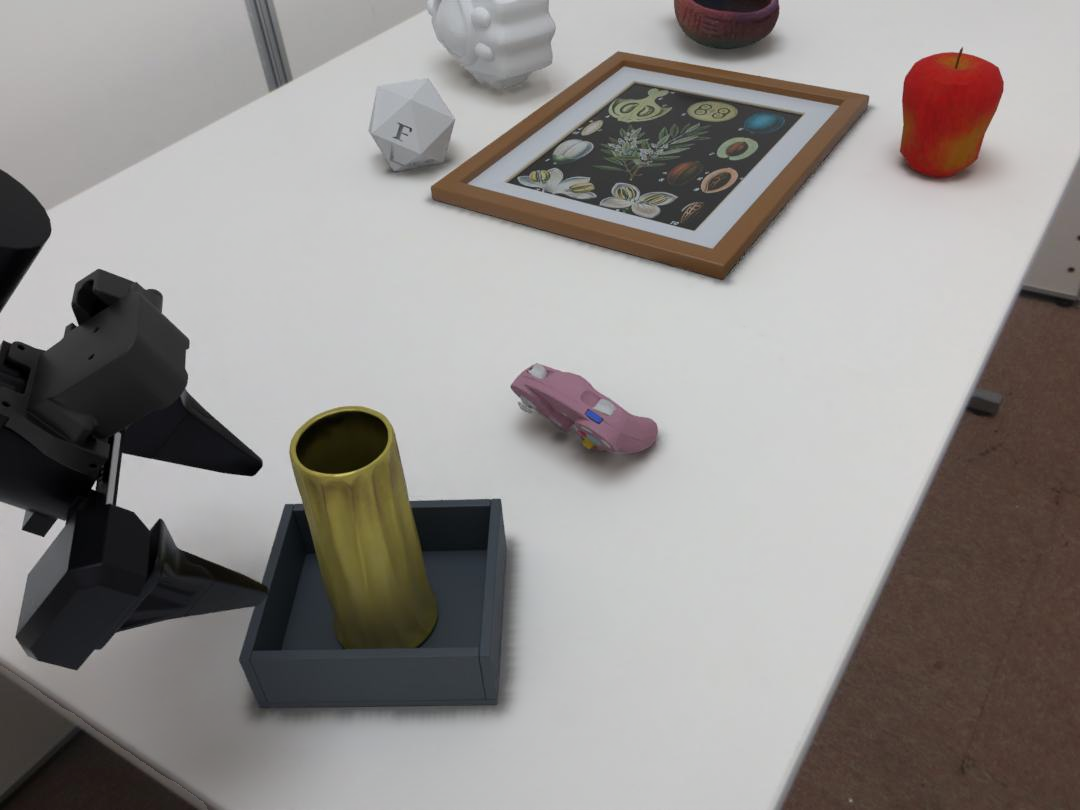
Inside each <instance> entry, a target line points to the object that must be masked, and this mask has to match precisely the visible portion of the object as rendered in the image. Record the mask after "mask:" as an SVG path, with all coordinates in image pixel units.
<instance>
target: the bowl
mask: <svg viewBox="0 0 1080 810" xmlns="http://www.w3.org/2000/svg"><path fill="white" fill-rule="evenodd" d="M673 9H674V15H675V18H676V21H677V23H678V26H679V27H680V29H681V31H682V32H683V33H684V34H685V36H686V37H688V38H689V39H690V40H691V41H693V42H694V43H696V44H698V45H701V46H703V47H707V48H712V49H716V50H717V49H718V50H727V51H728V50H729V51H730V50H735V49H740V48H741V49H742V48H746V47H749V46H751V45H755V44H756V43H758V42H761V40H764V39H765V38H766V37H767V36H769V35H770V34H771V33H772V31H773V30H774V28H775V27H776V24H777V22H778V19H779V16H780V9H781V8H780V0H673Z"/></svg>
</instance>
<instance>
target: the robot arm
mask: <svg viewBox="0 0 1080 810" xmlns="http://www.w3.org/2000/svg"><path fill="white" fill-rule="evenodd" d="M52 229H53V228H52V223H51V219H50V216H49V214H48V212H47V211H46V208H45V207H44V206H43V204H42V203H41V202H40V201H39V199H38V198H37V197H36V196H35V195H34V193H32V192H31V191H30V190H29V189H28V188H27V187H26V186H25V185H24V184H22V183H21V182H20V181H18V179H16V178H14V177H13V175H10V174H9V173H8V172H6V171H4V170H3V169H1V168H0V314H1V313H2V311H3V310H4V308H5V307H6V305H7V304H8V302H9V300H10V299H11V297H12V296H13V294H14V293H15V291H16V290H17V288H18V286H19V285H20V284H21V282H22V280H23V279H24V278H25V276H26V275H27V273H28V271H29V269H30V268H31V267H32V265H33V263H34V262H35V260H37V257H38V256H39V255H40V252H41V251H42V250H43V248H44V247H45V245H46V243H47V242H48V240H49V238H50V237H51V235H52V231H53V230H52ZM163 304H164V296H163V294H162V292H160V291H159V290H157V289H155V288H147V289H146V288H144V287H143V286H142V285H140V284H139V282H137V281H133V280H131V279H129V278H125V277H123V276H120V275H117V274H115V273H112V272H109V271H107V270H104V269H101V268H97V269H95V270H94V271H92V272H90V273H89V274H87V275H86V276H84V277H83V278H82V279H81V278H80V279H79V280H78V281H77V282H76V283H75V284H74V288H73V293H72V298H71V302H70V305H71V309H72V312H73V315H74V318H75V320H76V323H77V325H76V324H75V323H73V322H71V323H69V324H67V325H66V326H65V329H64V333H63V337H62V338H61V339H60V340H59V341H58V342H56V343H55V344H53V345H52V346H51V347H49V348H48V349H47V350H45V349H40V348H36V347H34V346H32V345H29V344H27V343H24V342H22V341H18V340H17V341H16V340H15V341H13V342H9V341H6V340H5V339H4V340H2V341H1V342H0V503H1V504H5V505H9V506H12V507H14V508H18V509H20V510H24V511H25V512H24V516H23V520H22V525H21V531H23V532H27V533H30V534H32V535H36V536H39V537H42V538H45V536H47V534H48V533H49V532H50V530H51V529H52V527H53V526H54V525H55V524H56V522H57V521H58V520H61V521H64V522H65V524H64V527H63V528H62V529H61V530H60V532H59V533H58V535H57V536H56V537H55V538H54V540H53V541H52V542H51V543H50V545H49V546H48V548H47V549H46V550H45V552H44V553H43V554H42V555H41V557H40V558H39V559H38V561H37V562H36V563H35V564H34V566H33V567H32V568H31V570H30V571H29V573H27V577H26V581H25V586H24V592H23V597H22V601H21V606H20V612H19V616H18V622H17V628H16V631H15V636H14V637H15V639H16V641H17V642H18V644H19V645H20V647H21V649H22V650H23V652H24V653H25V654H26V656H27V657H28V658H31V659H33V660H35V661H37V662H41V663H45V664H49V665H53V666H57V667H60V668H65V669H68V670H72V671H78V670H79V669H80V668H81V667H82V666H83V665H84V663H85V662H86V661H87V660H88V658H89V657H90V656H91V655H92V654H93V653H94V651H101V650H103V649H104V647H105V646H106V645H107V644H108V643H109V642H110V641H111V639H113V637H114V635H115V634H117V633H121V632H125V631H128V630H132V629H137V628H140V627H144V626H149V625H153V624H156V623H160V622H161V623H162V622H164V621H170V620H177V619H183V618H188V617H193V616H195V617H196V616H200V615H201V616H202V615H207V614H214V613H215V614H216V613H222V612H227V611H233V610H240V609H247V608H254V607H255V606H257V605H259V604H260V603H261V602H262V601H263V600H264V599H265V598H266V597H267V596H268V587H267V586H265V585H263V584H261V583H262V582H260V581H258V580H255V579H254V578H252V577H250V576H248V575H246V574H244V573H241V572H238V571H236V570H233V569H231V568H229V567H226V566H223V565H220V564H218V563H216V562H213V561H210V560H208V559H206V558H203V557H200V556H198V555H195V554H193V553H191V552H188V551H186V550H182V549H181V548H179V547H178V546H177V545H176V543H175V541H174V539H173V536H172V535H171V532H170V530H169V528H168V526H167V524H166V523H165V521H164V519H162V518H160V517H159V518H158V519H157V520H156V522H155V523H154V524H153V525H152V527H151V528H150V529H149V528H148V527H147V526H146V524H145V523H144V522H143V521H142V520H141V518H140V517H139V516H138V515H137V514H136V513H135V512H134V511H132V510H129V509H127V508H124V507H121V506H118V505H117V501H118V494H119V492H118V491H119V483H120V474H121V467H122V458H123V455H129V456H135V457H139V458H144V459H149V460H155V461H161V462H164V463H171V464H175V465H181V466H186V467H190V468H191V467H192V468H196V469H200V470H206V471H209V472H215V473H220V474H227V475H234V476H243V477H254V476H256V475H257V474H258V473H259V471H261V469H262V468H263V466H264V462H263V458H262V457H260V456H259V455H258V454H257V453H256V452H254V451H253V450H252V449H251V448H250V447H249V446H247V444H245V443H244V442H243V441H242V440H241V439H239V438H238V437H237V436H236V435H235V434H234V433H233V432H232V431H231V430H230V429H228V428H227V427H226V426H225V425H224V424H222V423H221V421H219V420H218V419H217V418H215V417H214V416H213V415H212V414H211V413H210V412H209V411H208V410H206V408H204V407H203V405H201V404H200V402H198V401H197V400H196V398H194V397H193V396H192V395H191V394H190V393H189V392H188V390H187V389H186V388H187V386H188V382H189V373H188V371H187V369H186V361H187V351H188V350H189V349H190V347H191V346H190V339H189V337H187V335H186V334H185V333H184V332H182V331H181V330H180V329H179V328H178V327H177V326H176V325H175V324H174V323H173V322H172V321H171V319H170V320H169V318H168V317H167V316H166V315H165V314H163ZM94 485H95V489H93V487H94Z"/></svg>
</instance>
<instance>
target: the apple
mask: <svg viewBox="0 0 1080 810" xmlns="http://www.w3.org/2000/svg"><path fill="white" fill-rule="evenodd" d="M963 51H964V46H962V47H961V48H960V49H959V52H955V51H949V52H940V53H935V54H931V55H929V56H925V57H922V58H920V59H919V60H917V61H916V62H915V63H913V65H912V66H911V68H910V69H909V70H908V72H907V74H906V75H905V77H904V80H903V86H902V97H901V104H902V122H903V124H902V125H903V127H902V131H901V137H900V138H901V140H900V146H899V152H900V154H901V155H902V157H903V158H904V160H905V161H906V163H907V164H908V166H909V167H910V169H911V170H913V171H915V172H916V173H918V174H921V175H924V176H927V177H932V178H936V179H939V178H949V177H952V176H954V175H956V174H958V173H959V172H961V171H963V170H965V169H967V168H968V167H969V166H971V165H972V164H973V163H975V162H976V161H977V160H978V158H979V155H980V152H981V148H982V145H983V142H984V138H985V135H986V132H987V130H988V129H989V127H990V124H991V122H992V121H993V118H994V116H995V115H996V112H997V110H998V108H999V104H1000V102H1001V99H1002V97H1003V93H1004V90H1005V89H1004V84H1005V81H1004V78H1003V76H1002V72H1001V69H1000V68H999V66H997V65H996V64H994V63H992V61H991V62H990V61H989V60H986V59H984V58H982V57H980V56H976V55H974V54H969V53H964V52H963Z"/></svg>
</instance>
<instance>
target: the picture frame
mask: <svg viewBox="0 0 1080 810" xmlns="http://www.w3.org/2000/svg"><path fill="white" fill-rule="evenodd" d="M869 102H870V95H868V94H863V93H859V92H853V91H847V90H842V89H835V88H829V87H824V86H818V85H812V84H808V83H807V84H806V83H802V82H794V81H789V80H784V79H778V78H774V77H773V78H772V77H767V76H761V75H755V74H750V73H745V72H739V71H733V70H727V69H722V68H715V67H711V66H705V65H699V64H692V63H688V62H682V61H676V60H672V59H671V60H670V59H665V58H659V57H653V56H648V55H642V54H637V53H630V52H624V51H620V50H619V51H616V52H615V53H613V54H612V55H610V56H609V57H608V58H607V59H605V60H604V61H602V62H601V63H599V64H598V65H597V66H595V67H594V68H593V69H591V70H590V71H588V72H587V73H586V74H584V75H583V76H582V77H580V78H579V79H577V80H576V81H574V82H573V83H572V84H570V85H568V87H566V88H565V89H563V90H562V91H561V92H559V93H558V94H557V95H555V96H554V97H552V98H551V99H550V100H549V101H546V102H545V103H544V104H543V105H542V106H540V107H538V108H537V109H536V110H535V111H532V113H530V114H529V115H528V116H526V117H524V118H523V119H522V120H521V121H519V122H518V123H517V124H515V125H513V126H512V127H511V128H509V129H508V130H507V131H506V132H504V133H503V134H501V135H500V136H499V137H497V138H496V139H494V140H493V141H492V142H490V143H489V144H487V145H485V147H484V148H482V149H481V150H479V151H478V152H476V153H475V154H474V155H472V156H471V157H469V158H467V160H465V161H464V162H462V163H461V164H460V165H458V166H457V167H456V168H454V169H453V170H452V171H450V172H449V173H448V174H446V175H444V176H443V177H442V178H441V179H439V180H438V181H437V182H435V183H434V184H432V185H430V193H431V198H432V200H434V201H437V202H441V203H445V204H448V205H453V206H456V207H459V208H463V209H467V210H469V211H473V212H476V213H477V212H478V213H481V214H483V215H489V216H491V217H496V218H499V219H503V220H506V221H510V222H514V223H517V224H520V225H524V226H528V227H532V228H535V229H538V230H542V231H546V232H550V233H554V234H557V235H559V236H564V237H568V238H572V239H574V240H577V241H582V242H585V243H590V244H593V245H596V246H600V247H603V248H608V249H612V250H614V251H619V252H622V253H624V254H625V253H626V254H629V255H633V256H636V257H640V258H643V259H646V260H650V261H654V262H658V263H661V264H665V265H668V266H673V267H676V268H679V269H683V270H687V271H690V272H693V273H698V274H701V275H705V276H708V277H711V278H715V279H719V280H723V279H724V278H726V276H727V275H728V273H729V272H730V271H731V270H732V269H733V268H734V266H736V264H737V263H738V262H739V260H740V259H741V258H742V257H743V256H744V255H745V254H746V252H747V251H748V250H749V249H750V248H751V246H752V245H753V244H754V243H755V242H756V241H757V239H758V238H759V237H760V236H761V234H763V232H764V231H765V230H766V229H767V227H769V225H770V224H771V222H773V220H774V219H775V218H776V216H777V215H778V214H779V213H781V211H782V210H783V209H784V207H785V206H786V205H787V204H788V202H789V201H790V200H791V199H792V198H793V197H794V195H795V194H796V193H797V192H798V191H799V189H801V187H802V186H803V184H805V182H806V181H807V180H808V179H809V177H810V176H811V175H812V174H813V173H814V172H815V171H816V170H817V168H818V167H819V166H820V164H821V163H822V162H823V161H824V160H825V159H826V158H827V156H828V155H829V154H830V153H831V152H832V150H833V149H834V148H836V146H837V144H838V143H839V142H840V141H841V139H842V138H843V137H844V136H845V135H846V134H847V133H848V132H849V130H850V129H851V128H852V127H853V125H854V124H855V123H856V122H857V121H858V120H859V118H860V117H861V116H862V115H863V114H864V112H865V111H866V110H867V109H868V107H869Z"/></svg>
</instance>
